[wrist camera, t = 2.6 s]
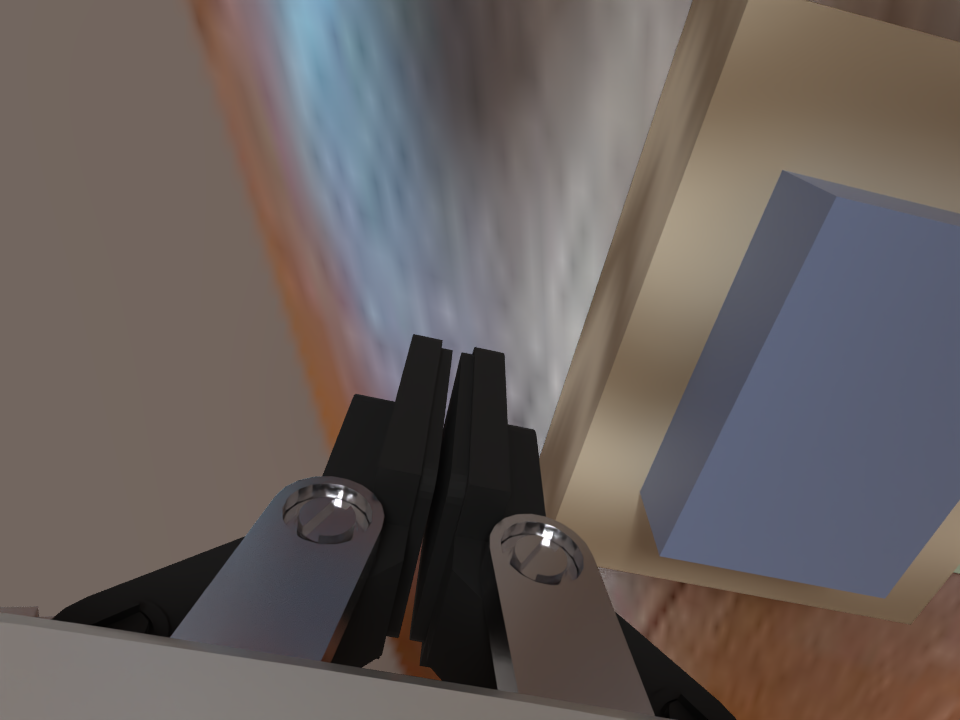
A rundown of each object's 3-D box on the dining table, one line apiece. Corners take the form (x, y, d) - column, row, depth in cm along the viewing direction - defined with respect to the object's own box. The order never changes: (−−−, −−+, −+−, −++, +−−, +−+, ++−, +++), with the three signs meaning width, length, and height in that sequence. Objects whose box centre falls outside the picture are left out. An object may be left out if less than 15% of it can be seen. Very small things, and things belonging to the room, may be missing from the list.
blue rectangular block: (782, 169, 13) (836, 196, 11) (1036, 232, 14) (1133, 269, 12) (639, 492, 17) (659, 556, 15) (838, 531, 18) (885, 598, 16)
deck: (694, -4, 15) (754, -14, 12) (1129, 113, 16) (1304, 135, 13) (534, 472, 22) (541, 556, 19) (847, 534, 23) (911, 624, 20)
